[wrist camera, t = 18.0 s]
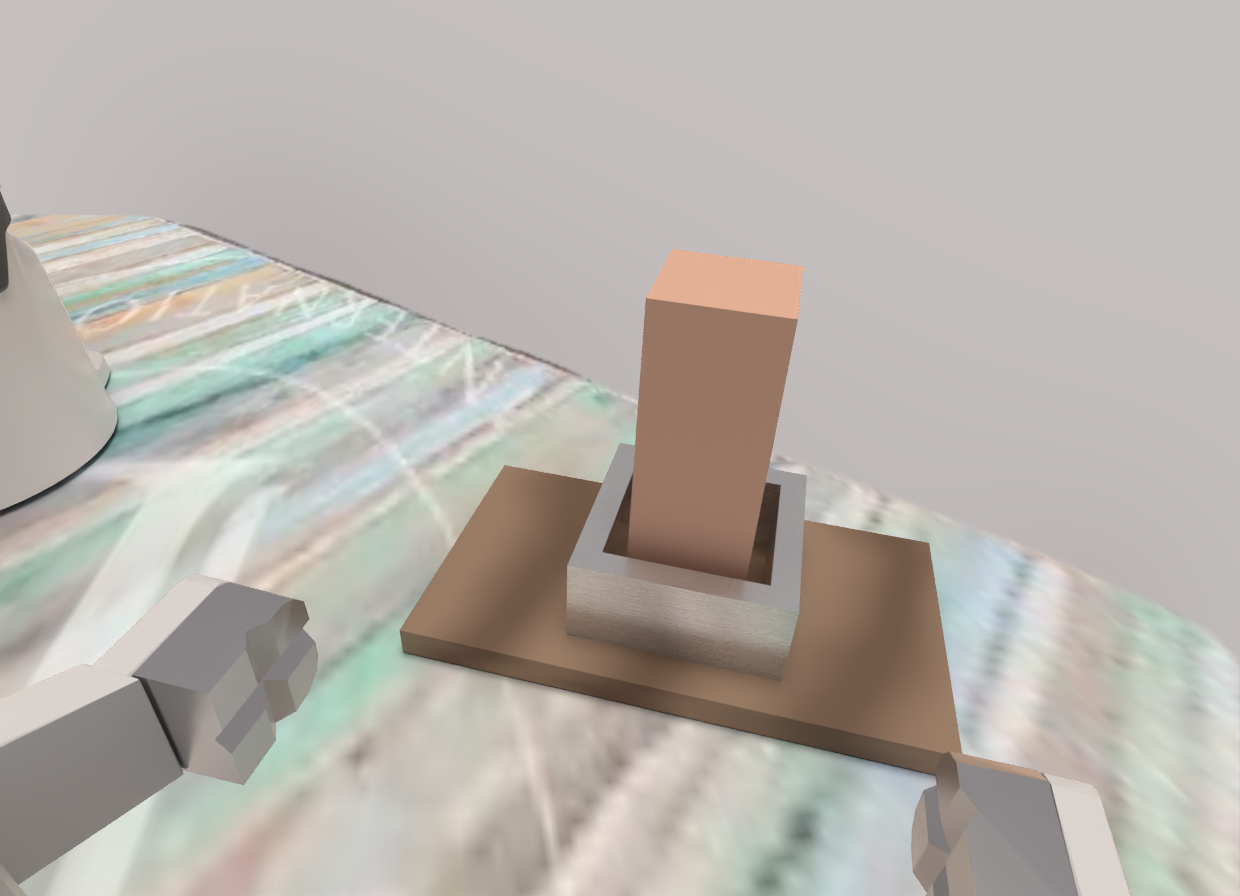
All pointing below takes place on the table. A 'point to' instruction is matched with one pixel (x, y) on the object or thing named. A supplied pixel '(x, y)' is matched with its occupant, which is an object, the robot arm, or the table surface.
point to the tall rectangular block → (709, 408)
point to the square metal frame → (689, 585)
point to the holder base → (788, 709)
